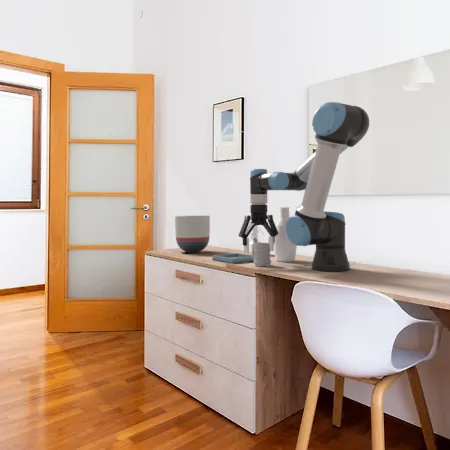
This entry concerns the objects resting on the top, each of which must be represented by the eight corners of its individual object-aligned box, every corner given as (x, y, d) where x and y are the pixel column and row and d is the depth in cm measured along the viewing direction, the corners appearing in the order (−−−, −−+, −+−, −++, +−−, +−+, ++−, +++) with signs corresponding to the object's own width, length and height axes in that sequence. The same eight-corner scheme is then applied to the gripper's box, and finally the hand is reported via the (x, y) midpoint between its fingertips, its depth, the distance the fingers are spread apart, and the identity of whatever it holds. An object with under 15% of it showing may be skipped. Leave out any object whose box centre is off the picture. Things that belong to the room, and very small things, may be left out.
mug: (259, 267, 181) (259, 239, 181) (245, 264, 192) (245, 237, 191) (274, 265, 185) (274, 238, 185) (259, 263, 195) (259, 237, 195)
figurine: (251, 256, 223) (250, 218, 222) (240, 254, 230) (239, 218, 230) (270, 254, 230) (269, 217, 229) (259, 253, 238) (258, 217, 237)
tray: (258, 261, 202) (258, 256, 202) (232, 263, 194) (232, 258, 194) (237, 257, 217) (237, 253, 217) (212, 260, 209) (212, 255, 209)
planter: (214, 250, 257) (213, 215, 256) (204, 254, 237) (204, 216, 236) (182, 250, 262) (181, 215, 261) (170, 254, 242) (169, 216, 241)
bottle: (301, 261, 197) (300, 207, 196) (278, 262, 195) (277, 207, 193) (291, 258, 208) (290, 207, 207) (270, 260, 205) (269, 207, 204)
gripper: (275, 203, 197) (275, 249, 198) (230, 204, 184) (230, 252, 185) (286, 203, 191) (286, 250, 192) (240, 204, 178) (240, 254, 179)
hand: (259, 251), depth 189 cm, fingers open, 13 cm apart
